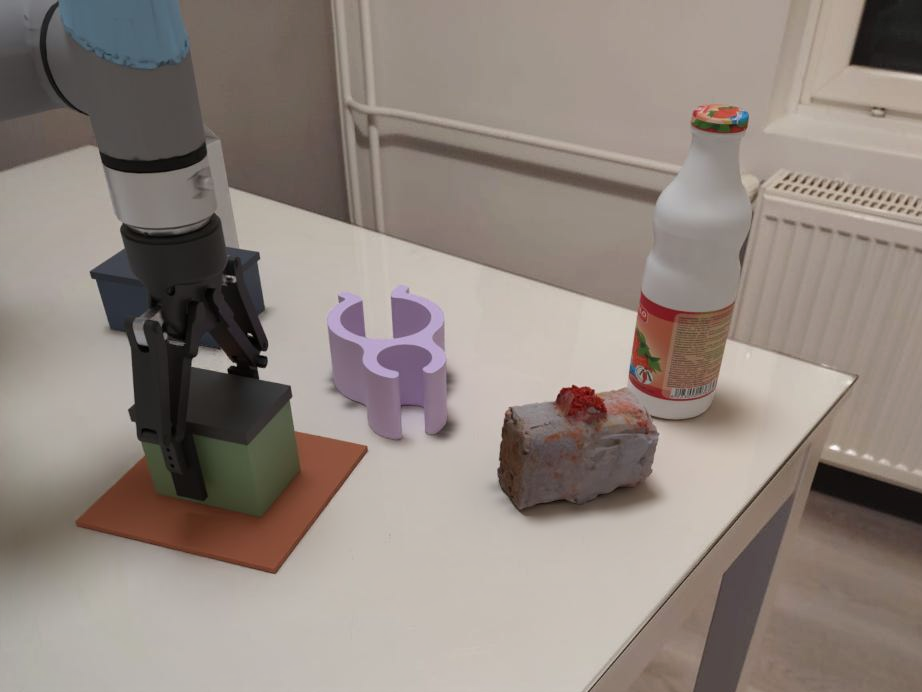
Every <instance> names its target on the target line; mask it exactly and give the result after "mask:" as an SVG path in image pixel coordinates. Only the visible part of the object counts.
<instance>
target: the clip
mask: <svg viewBox="0 0 922 692" xmlns="http://www.w3.org/2000/svg"><path fill="white" fill-rule="evenodd" d="M337 299H338V301H337V302H338V303H337V304H336V305H335V306H333V307H332V308H331V310H330V311H329V312H328V314H327V317H326V325H327V334H328V343H329V350H330V351H329V352H330V359H331V368H332V376H333V377H332V378H333V383H334V385H335V388H336V390H337V391H338V392H339V393H340V394H341V395H343V396H344V397H346V398H347V399H350V400H352V401H355V402H357V403H359V404H362V405H364V406H365V407H366V412H367V413H366V414H367V415H366V416H367V423H368V425H369V428H370V429H371V430H372V431H373V432H374V433H376V434H377V435H380V436H381V437H384V438H386V439H390V440H395V441H397V440H401V439H402V438H403V423H402V407H401V406H409V405H410V406H418V407H421V408H423V415H424V416H423V417H424V432H425V433H427V434H428V435H436V434H438V433H439V432H440V431H442V429H443V428H444V427H445V426H446V424H447V422H448V402H447V401H448V397H447V393H448V392H447V389H448V387H447V354H446V337H445V336H446V335H445V334H446V333H445V332H446V331H445V329H446V328H445V314H444V311H443V309H442V308H441V307H440V305H438V304H437V303H436V302H435V301H433V300H431V299H429V298H427V297H424V296H421V295H417V294H413V293H410V286H409V285H406V284H399V285H397V286H395V288H394V289H392V290H391V292H390V306H391V307H390V308H391V324H392V338H371V337H367V336H366V325H365V324H366V323H365V313H364V312H365V311H364V302H363V301H364V300H363V298H362V297H361V296H360V295H358V294H356V293H352V292H349V291H347V290H345V291H344V290H343V291H340V292H338V293H337Z"/></svg>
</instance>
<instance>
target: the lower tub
mask: <svg viewBox="0 0 922 692" xmlns="http://www.w3.org/2000/svg"><path fill="white" fill-rule="evenodd" d="M226 250H227V255H230V256H236V257H239V258H240V259H241V264H242V270H243V276H244V282H245V284H246V287H247V289H248V292H249V294H250V297H251V299H252V302H253V304H254V307H255V309H256V312H257V315H258V316H259V315H260V314H261V313H262V312H263V311H265V309H266V306H265V300H264V294H263V286H262V281H261V276H260V270H259V261H260V260H261V254H260V251H257V250H250V249H244V248H243V249H242V248H240V249H238V248H231V247H226ZM89 275H90V278H91V279H92V280H95V282H96V285H97V288H98V291H99V295H100V298H101V299H100V300H101V302H102V305H103V309H104V312H105V316H106V320H107V322H108V327H109V329H111V330H117V331H122V332H126V331H125V327H124V321H125V318H126V317H127V316H132V317H137V318H138V317H140V316H142V315H143V314H144V313H145V312H147V311H148V310H147V289H146V287H145V286H144V285H143V283H142V282H141V281H140V280H139V279H138V278H137V277H136V276H135V275H134V274H133V273H132V271H131V269H130V266H129V263H128V259H127V255H126V251H125V248H123V249H121V250H120V251H118V252H117V253H115V254H114V255H112V256H111V257H109V258H108V259H106V260H105V261H103V262H102V263H100V264H98V265H97V266H95V267H94V268H92V269H91V270H89ZM168 340H171V341H177V342H179V341H178V340H175V339H172V338H171V337H170V336H169V335H168ZM181 342H182V343H185V342H184V341H181ZM199 346H204V347H209V348H215V349H221V347H220V346H219V345H218V343H217V342H216V341H215V340H214V338H213V337H212V336H211V335H210V333H209V332H205V334H204V335H203V337H202V338H201V339H200V340H199Z"/></svg>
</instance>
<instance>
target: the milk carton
mask: <svg viewBox="0 0 922 692" xmlns="http://www.w3.org/2000/svg"><path fill="white" fill-rule="evenodd" d="M203 128H204V133H205V139H206V141H205V142H206V147H207V155H208V160H209V165H210V170H211V175H212V179H213V182H214V190H215V195H216V200H217V209H216V211H215V212H214V213H215V214H216V215H217V216H219V218H220V219H221V223H222V229H223V234H224V239H225V245H226V247H231V248H238V249H241V248H240V244H239V243H240V242H239V237H238V233H237V227H236V221H235V215H234V210H233V204H232V199H231V192H230V187H229V181H228V175H227V169H226V165H225V160H224V159H225V158H224V154H223V147H222V142H221V138H220V137H219V136H218V135H217V134H216V133H214V132H213V131H212V130H211V128H209V127H208V126H207V125H206V124H205V123H204V122H203Z"/></svg>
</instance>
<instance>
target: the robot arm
mask: <svg viewBox="0 0 922 692" xmlns="http://www.w3.org/2000/svg"><path fill="white" fill-rule="evenodd" d="M190 39H191V38H190V36H189V34H188V29H187V28H186V27H185V24H184V19H183V16H182V11H181V7H180V2H179V0H0V123H3V122H7V121H10V120H11V121H12V120H16V119H20V118H24V117H29V116H32V115H37V114H41V113H45V112H49V111H53V110H57V109H68V110H70V111H73V112H76V113H79V114H82V115H84V116H87V117H89V121H90V124H91V127H92V131H93V135H94V138H95V141H96V145H97V149H98V153H99V156H100V160H101V165H102V170H103V174H104V177H105V181H106V185H107V189H108V194H109V198H110V202H111V204H112V210H113V213H114V215H115V217H116V218H117V220H118V221H119V222H121V226H120V228H119V233H120V236H121V240H122V243H123V247H124V248H125V251H126V255H127V259H128V263H129V266H130V269H131V271H132V273H133V274H134V275H135V276H136V277H137V278H138V279H139V280H140V281H141V282H142V283H143V285H144V286H145V287H146V289H147V310H148V311H147V312H145V313H144V314H143V315H142V316H140V317H138V318H137V317H132V316H127V317H126V318H125V321H124V327H125V331H124V332H125V333H126V337H127V341H128V345H129V347H130V356H131V357H130V358H131V369H132V370H131V371H132V372H131V373H132V386H133V388H132V389H133V399H134V400H133V404H135V418H136V423H135V429H136V430H135V431H136V438H137V440H138V441H139V442H141V441H142V442H147V443H151V444H156V445H160V447H161V451H162V454H163V457H164V461H165V465H166V468H167V469H168V471H170V472H171V476H172V479H173V483H174V486H175V490H176V493H177V496H181V497H186V498H190V499H195V500H199V501H203V502H204V501H205V500H206V499H207V497H208V494H207V490H206V486H205V482H204V478H203V474H202V470H201V466H200V462H199V458H198V454H197V450H196V446H195V442H194V438H193V434H191V433H186V432H185V428H186V417H187V407H188V397H189V386H190V376H191V367H192V365H193V364H192V363H193V359H195V358H196V357H197V356H198V355H199V349H200V348H199V347H200V345H199V340H200V339H201V338H202V337H203V335H204V334H205V332H209V333H210V335H211V336H212V337H213V338H214V340H215V341H216V342H217V343H218V345H219V346H220V347H221V348H220V349H221V350H222V351H223V352H224V354H225V355H226V357H227V358H228V359H229V360H230V362H231V363H233V364H235V365H230V366H229V367H227V369H226V370H227V373H228V374H233V375H238V376H243V377H249V378H254V379H259V380H260V374H259V369H266V368H267V366H268V365H269V364H268V363H269V359H268V356H267V355H263V354H261V352H267V351H268V349H269V339H268V337H267V335H266V332H265V329H264V327H263V325H262V322H261V319H260V317H259V315H257V312H256V309H255V307H254V304H253V302H252V299H251V297H250V294H249V292H248V289H247V287H246V284H245V282H244V276H243V270H242V264H241V259H240V258H239V257H236V256H230V255H227V250H226V245H225V239H224V234H223V229H222V223H221V219H220V218H219V216H217V215H216V214H215V213H214V212H215V211H216V209H217V200H216V195H215V190H214V182H213V179H212V175H211V170H210V165H209V160H208V155H207V147H206V142H205V141H206V139H205V133H204V128H203V123H204V122H203V117H202V110H201V104H200V100H199V94H198V88H197V82H196V76H195V70H194V65H193V60H192V54H191V40H190ZM124 248H123V249H124ZM249 334H250V335H249ZM168 335H169V336H170V337H171V338H172V339H175V340H174V341H176V340H178V341H177V342H182V341H184V342H183V343H184V344H183V345H179V344H174V343H170V342H169V339H168ZM171 423H172V425H171Z"/></svg>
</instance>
